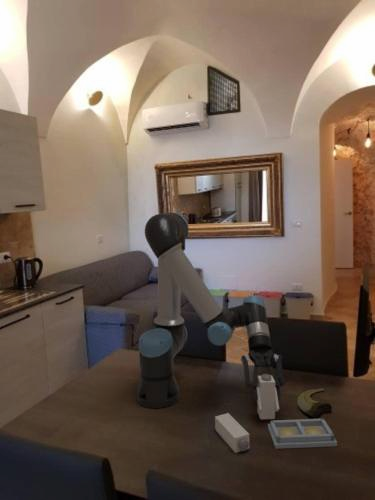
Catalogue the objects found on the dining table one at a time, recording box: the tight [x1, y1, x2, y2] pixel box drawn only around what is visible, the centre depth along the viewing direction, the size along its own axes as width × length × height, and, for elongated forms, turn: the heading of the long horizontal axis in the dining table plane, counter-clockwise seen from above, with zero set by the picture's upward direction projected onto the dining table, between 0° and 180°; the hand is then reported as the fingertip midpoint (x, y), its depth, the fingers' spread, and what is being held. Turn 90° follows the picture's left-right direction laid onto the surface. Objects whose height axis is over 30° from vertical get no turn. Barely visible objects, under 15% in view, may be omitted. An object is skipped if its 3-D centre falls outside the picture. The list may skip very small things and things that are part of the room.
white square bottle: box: [257, 373, 276, 420], centre depth 121 cm, size 4×4×13 cm
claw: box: [296, 388, 333, 419], centre depth 129 cm, size 20×10×3 cm, turn 171°
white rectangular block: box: [214, 412, 250, 454], centre depth 112 cm, size 13×4×4 cm, turn 23°
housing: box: [267, 418, 338, 450], centre depth 112 cm, size 17×10×3 cm, turn 90°
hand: (268, 410), depth 118 cm, fingers closed on white square bottle, 4 cm apart
